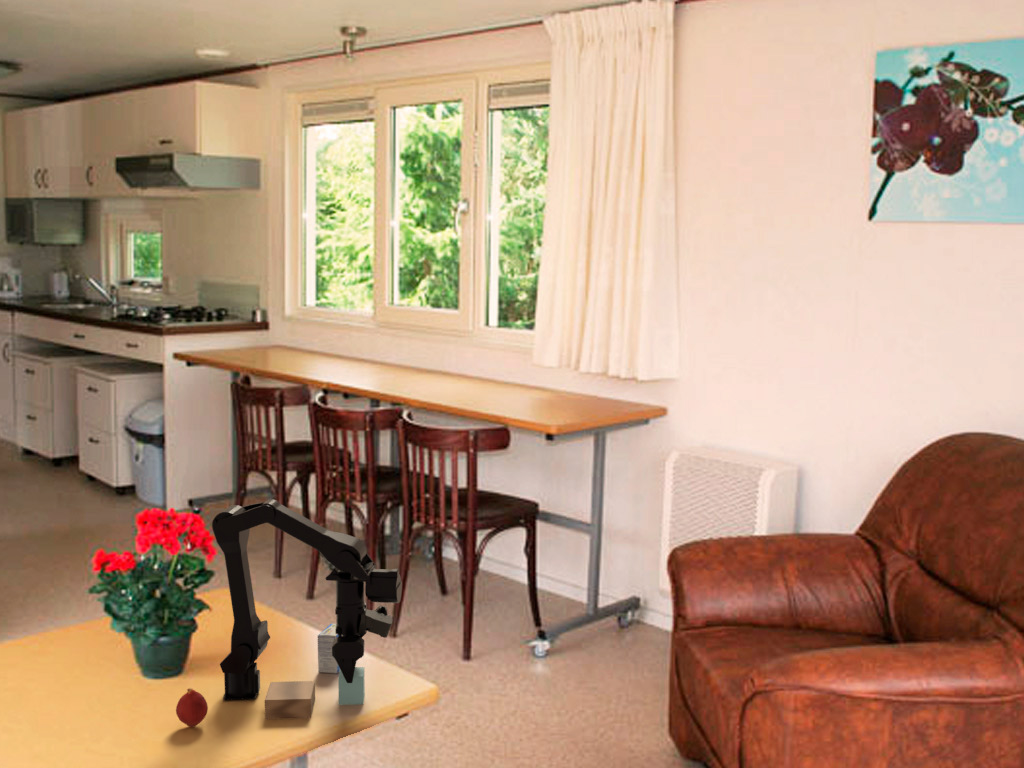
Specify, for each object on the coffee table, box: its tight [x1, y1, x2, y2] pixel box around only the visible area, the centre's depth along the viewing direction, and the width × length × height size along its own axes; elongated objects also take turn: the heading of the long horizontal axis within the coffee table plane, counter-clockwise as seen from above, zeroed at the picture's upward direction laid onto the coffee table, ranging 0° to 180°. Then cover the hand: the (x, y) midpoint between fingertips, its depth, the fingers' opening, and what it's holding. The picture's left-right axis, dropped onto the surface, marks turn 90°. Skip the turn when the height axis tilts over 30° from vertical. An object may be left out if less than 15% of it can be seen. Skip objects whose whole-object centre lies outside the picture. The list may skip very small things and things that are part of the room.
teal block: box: [337, 666, 366, 706], centre depth 230 cm, size 5×5×6 cm
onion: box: [175, 687, 209, 728], centre depth 217 cm, size 6×6×8 cm
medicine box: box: [317, 622, 340, 675], centre depth 247 cm, size 8×4×9 cm, turn 168°
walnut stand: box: [264, 680, 316, 720], centre depth 225 cm, size 9×9×4 cm
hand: (351, 673), depth 230 cm, fingers open, 9 cm apart
